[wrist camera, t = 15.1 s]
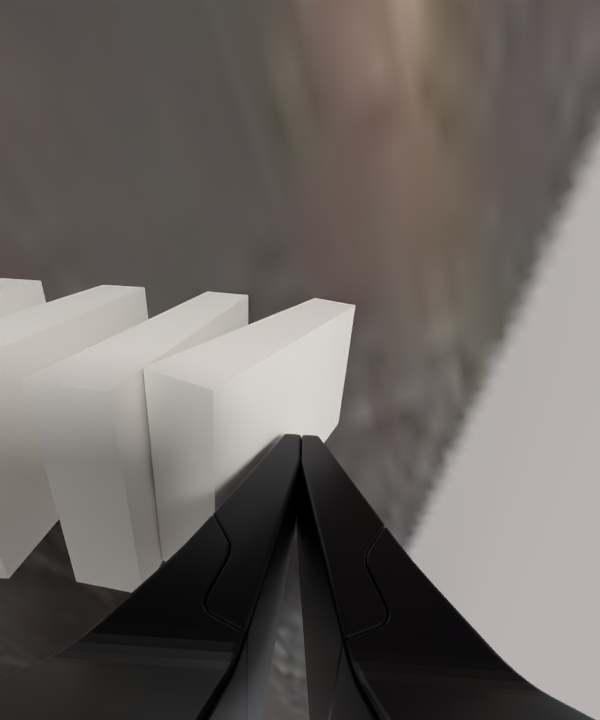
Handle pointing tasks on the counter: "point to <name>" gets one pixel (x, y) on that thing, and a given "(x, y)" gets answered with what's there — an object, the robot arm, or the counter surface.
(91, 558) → the domino
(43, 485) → the domino
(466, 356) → the counter surface
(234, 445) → the domino
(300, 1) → the counter surface
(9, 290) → the domino
